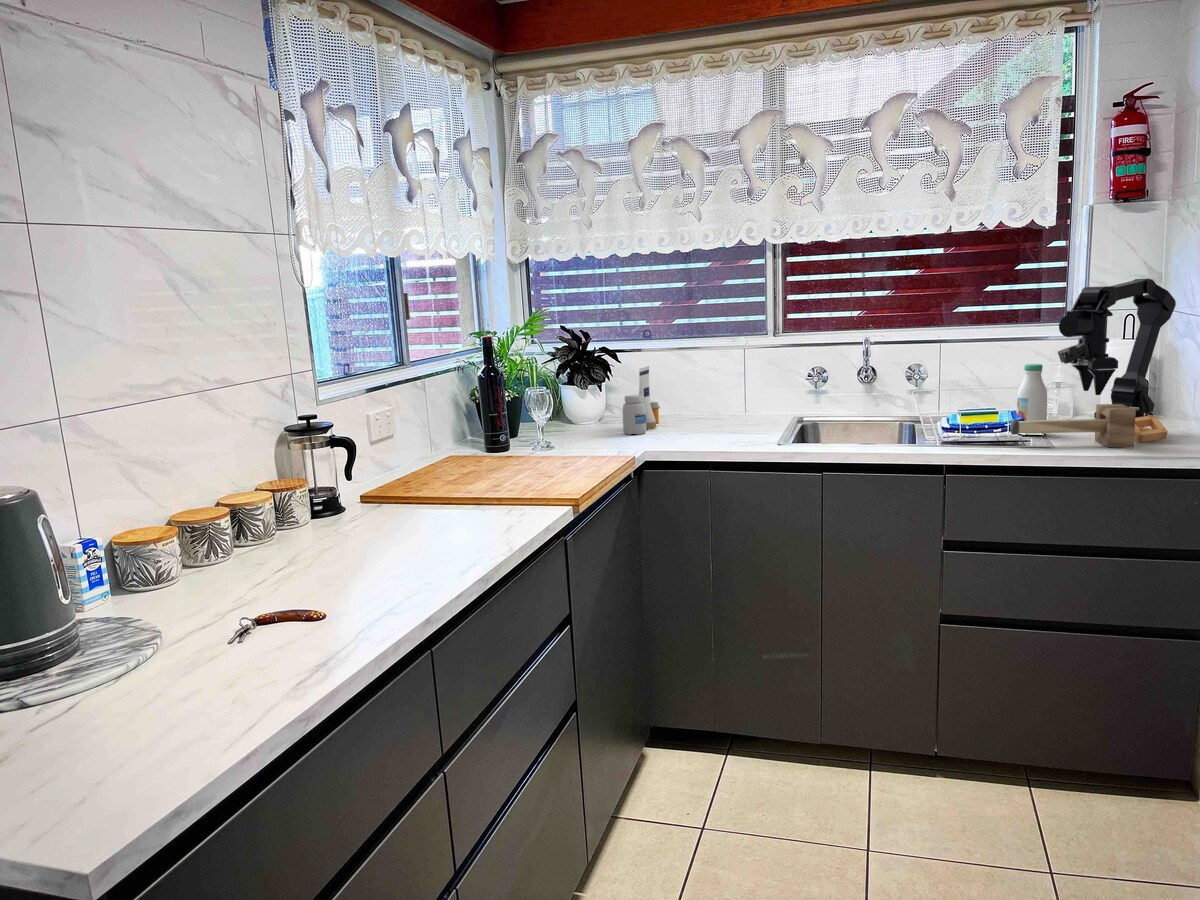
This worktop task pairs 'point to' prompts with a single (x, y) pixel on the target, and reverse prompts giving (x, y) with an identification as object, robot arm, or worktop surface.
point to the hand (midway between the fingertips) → (1091, 392)
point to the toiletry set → (640, 408)
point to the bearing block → (1116, 425)
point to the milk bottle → (1032, 395)
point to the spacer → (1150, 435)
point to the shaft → (1057, 426)
